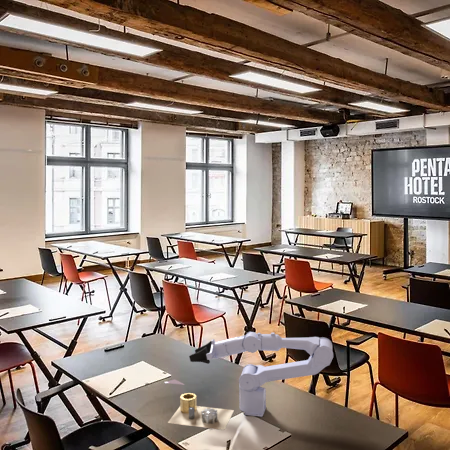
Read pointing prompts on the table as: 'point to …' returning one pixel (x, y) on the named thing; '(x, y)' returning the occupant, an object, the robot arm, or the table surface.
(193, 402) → the octagonal wooden pipe
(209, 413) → the sun gear
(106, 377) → the table surface
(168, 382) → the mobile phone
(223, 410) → the plate
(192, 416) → the pin
